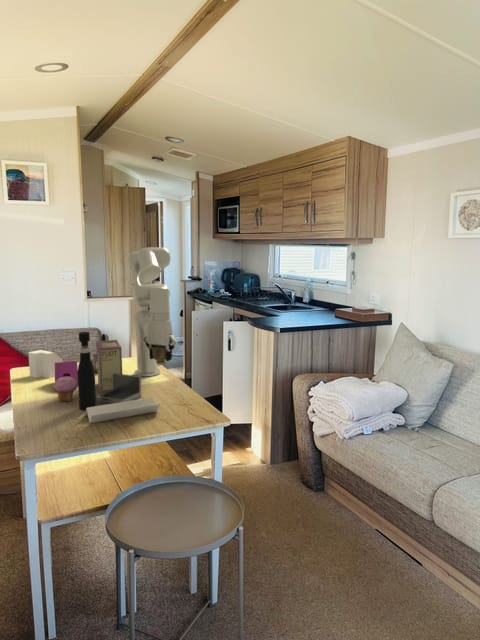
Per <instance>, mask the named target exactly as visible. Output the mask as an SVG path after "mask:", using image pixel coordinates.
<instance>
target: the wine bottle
mask: <svg viewBox="0 0 480 640" xmlns="http://www.w3.org/2000/svg"><path fill="white" fill-rule="evenodd" d="M90 339H91V338H90V331H80V332H78V342H79V343H80V344H81V345H80V346H81V347H80V352H79V357H80V358H79V359H80V360H79V362H78V365H77V368H78V373H77V374H78V387H77V389H78V391H77V392H78V405H79V407H78V408H79V410H80V411H82V412H86V408H89V407H95V406H97V403H96V396H97V391H96V388H97V387H96V371H95V370H94V367H93V364H92V361H91V360H92V359H91V352H90V347H89V342H90V341H91V340H90Z"/></svg>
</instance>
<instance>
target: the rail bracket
mask: <svg viewBox="0 0 480 640" xmlns="http://www.w3.org/2000/svg"><path fill="white" fill-rule="evenodd" d="M141 380H142V376H137V375H131V374H125V373H122V374H116V373H114V374H113V386H114V389H112V390H110V391H108V392H105V393H103V394H101V393H100V394H99V395H96V404H101V405H107V404H113V403H120V402H126V401H132V400H138V399H142V381H141Z"/></svg>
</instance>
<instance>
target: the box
mask: <svg viewBox="0 0 480 640" xmlns="http://www.w3.org/2000/svg"><path fill="white" fill-rule="evenodd" d="M95 342H96V343H95V344H96V345H95V346H96V352H97V368H98V372H97V383H98V387H99V390H100V395H101V394H103V393H105V392H108V391H110V390H112V389H114V386H113V374H114V373H116V374H123V359H122V357H123V356H122V345H120V343H119V342H118V340H117V339H113V340H97V341H95Z"/></svg>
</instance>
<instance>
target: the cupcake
mask: <svg viewBox="0 0 480 640" xmlns="http://www.w3.org/2000/svg"><path fill="white" fill-rule="evenodd" d="M53 387H54V390H56V392H57V399H58V401H59V402H71V401H72V400H73V396H74V392H75V390H76V389H77V388H78V387H77V382H76V380H75V379H74V378H72V377H68V376H65V377H61V378H59V379H58V380H57V381H56V382H55V381H54V384H53ZM76 387H77V388H76ZM75 388H76V389H75ZM74 389H75V390H74Z"/></svg>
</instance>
